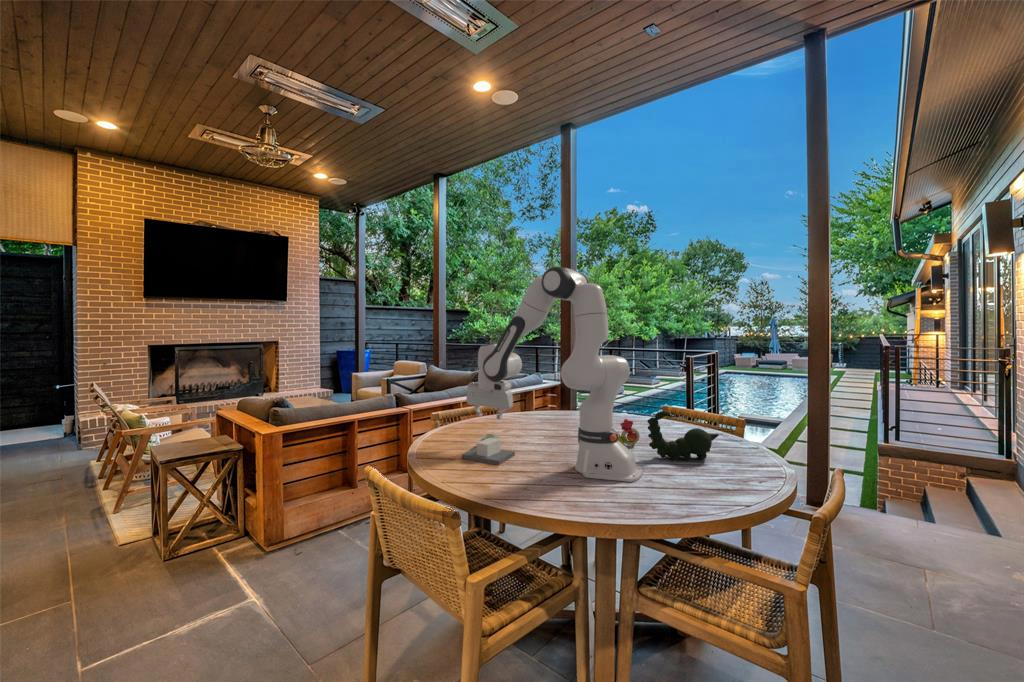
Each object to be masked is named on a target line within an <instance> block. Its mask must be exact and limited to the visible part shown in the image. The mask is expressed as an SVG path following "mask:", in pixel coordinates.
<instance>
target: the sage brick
mask: <svg viewBox="0 0 1024 682" xmlns="http://www.w3.org/2000/svg"><path fill="white" fill-rule="evenodd" d="M488 438H494V439H499V434H498V433H486V434H485V435H484V436H483V437H482V438H481V439H480V441H483V440H485V439H488Z"/></svg>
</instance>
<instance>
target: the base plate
mask: <svg viewBox="0 0 1024 682" xmlns="http://www.w3.org/2000/svg"><path fill="white" fill-rule="evenodd" d="M515 456H516V451H515V450H509V449H508V450H507V449H501V448H500V452H498V453H496V454H493V455H491V456H489V457H485V456H481V455H477V446H476V447H474V448H472V449H471V450H468V451H466V452H464V453H462V454H461V459H462V458H464V459H463V460H468V459H469V461H475V462H480V463H486V464H491V465H492V464H493V465H498V466H500V465H501V464H503V463H505V462H506V461H508V460H510V459H512V458H513V457H515Z"/></svg>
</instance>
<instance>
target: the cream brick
mask: <svg viewBox="0 0 1024 682" xmlns="http://www.w3.org/2000/svg"><path fill="white" fill-rule="evenodd" d="M476 447H477V455H481V456H485V457H489V456H491V455H493V454H496V453H498V452H500V449H501V439H500V438H498V439H494V438H488V439H485V440H483V441H481V440H480V441H478V442H476Z"/></svg>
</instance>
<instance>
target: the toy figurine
mask: <svg viewBox="0 0 1024 682" xmlns="http://www.w3.org/2000/svg"><path fill="white" fill-rule="evenodd" d="M672 416H673V415H672V414H671V413H670V412H668V411H666V410H660V411H657V412H656V413H655V416H654V417H653V416H651V417H650V418H649V419H647V421H646V422H647V423H648V424H649V425H648V426H647V430H649V432H650V433H649V434H648V435H647V437H648V438H649V439H650V440H651V442H649V444H648V445H649V447H650V448H651V449H653V450H656V454H657V455H658V456H660V457H661V459H665V458H666V457H668V458H671V460H672V461H674V462H676V461H678V460H679V457H682V458H684V460H686V461H689V460H691V458H692V455H695V456H696V457H697V458H698V459H700V460H705V459H707V456H708V455H707V453H709V452H710V451H711V447H712V444H713V443H712V442H713V441H714V440H715V439H716V438H718V437H719V436H720V435H719V434H718V433H709V432H707V431H706V430H704V429H702V428H697V427H695V428H691V429H689V430H688V431H686V433H684V435H683V437H679V438H676V439H675V440H671V441H666V439H665V438H664V437H663V434H662V432H661V426H660V425H659V420H661V419H663V418H664V417H668V418H672ZM691 454H692V455H691Z"/></svg>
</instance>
